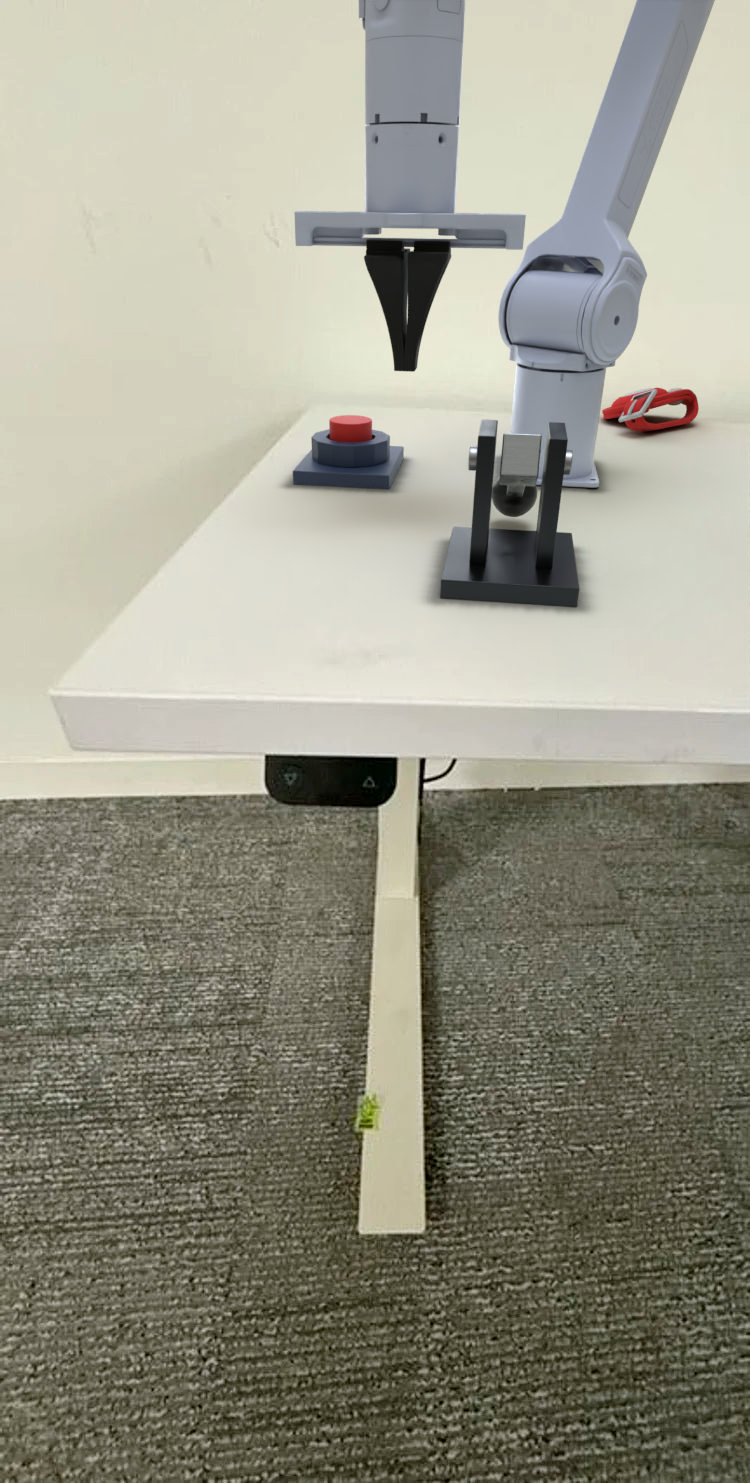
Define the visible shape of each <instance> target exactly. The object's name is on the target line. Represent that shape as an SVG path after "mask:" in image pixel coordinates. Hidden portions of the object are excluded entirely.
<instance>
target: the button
mask: <svg viewBox="0 0 750 1483" xmlns="http://www.w3.org/2000/svg"><path fill="white" fill-rule="evenodd" d="M328 422H329V429H330V440H333V441H338V442H364V441H369V440H372V430H373V420H372V418H371V417H368V416H364V415H356V414H355V415H354V414H345V415H344V414H343V415H336V416H333V417H330V418H329V420H328Z"/></svg>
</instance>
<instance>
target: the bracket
mask: <svg viewBox="0 0 750 1483" xmlns="http://www.w3.org/2000/svg"><path fill="white" fill-rule="evenodd" d="M498 424H499V421H498V420H497V419H481V420H480V426H479V431H478V435H477V445H470V446H469V453H468V464H467V465H468V468H467V469H468V471H473V472H475V475H474V490H473V504H472V516H471V517H472V520H471V527H470V526H452V529H451V533H450V538H449V543H448V547H447V552H446V556H445V560H444V565H443V568H442V574H441V577H440V590H439V598H440V599H446V600H457V601H458V600H461V601H474V602H475V601H477V602H490V603H491V602H492V603H505V604H521V605H523V604H524V605H535V606H536V605H537V606H551V607H552V606H553V607H568V608H578V603H579V596H580V582H579V575H578V567H577V560H576V554H575V546H574V538H573V533H572V532H563V531H558V530H557V529H558V526H559V524H558V523H559V516H560V508H561V500H562V491H563V486H562V484H563V476H564V475H570V473H571V467H572V458H573V451H572V450H567V443H568V438H567V433H566V427H565V423H557V422H548V428H547V437H546V446H545V455H544V465H543V474H542V483H541V485H540V492H539V500H538V501H539V503H538V511H537V520H536V529H535V530H525V529H524V530H523V529H509V528H507V529H505V528H490V524H491V510H492V502H493V501H492V488H493V485H494V477H495V476H494V474H495V461H496V451H497V450H496V448H497V437H498Z"/></svg>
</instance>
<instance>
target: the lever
mask: <svg viewBox="0 0 750 1483" xmlns="http://www.w3.org/2000/svg"><path fill="white" fill-rule="evenodd" d="M541 439H542V435H539V434H515V433H510V432H504V433H503V435H502V447H501V458H500V466H499V467H500V469H499V476H498V477H497V479H496V480H495V481H494V482H493V488H492V501H491V502H492V503H493V506H494V508H495V509H496V510H497V512H498V513H500V514H502V515H504V516H505V517H510V518H518V517H521V516H523V515H525V514H527V513H529V512H530V511H531V510H532V509H533V507H534V506H535V504H536V501H537V499H538V485H536V482H537V478H538V473H539V461H540V450H541Z"/></svg>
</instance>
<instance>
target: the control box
mask: <svg viewBox="0 0 750 1483" xmlns="http://www.w3.org/2000/svg"><path fill="white" fill-rule="evenodd" d="M310 438H311V449H310V451H309V452H308V453H306V455H305V456H304V457H303V459H302V460H301V461H300V462H299V463H298V464H297V465H296V467H295V468H294V469H293V471H292V485H293V486H312V487H313V486H314V487H330V488H331V487H333V488H354V489H372V490H390V488H391V487H392V484H393V482H394V480H395V478H396V476H397V473H398V471H399V469H400V467H401V465H402V464H403V461H404V453H405V452H404V451H405V450H404V449H405V448H404V446H400V445H391V435H389V434H387V433H386V432H384V431H382V430H377V429H372V440H369V441H364V442H338V441H333V440H330V428H329V429H325V430H320V431H316V432H315V433H314V434H313V435H312V436H311V437H310Z"/></svg>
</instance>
